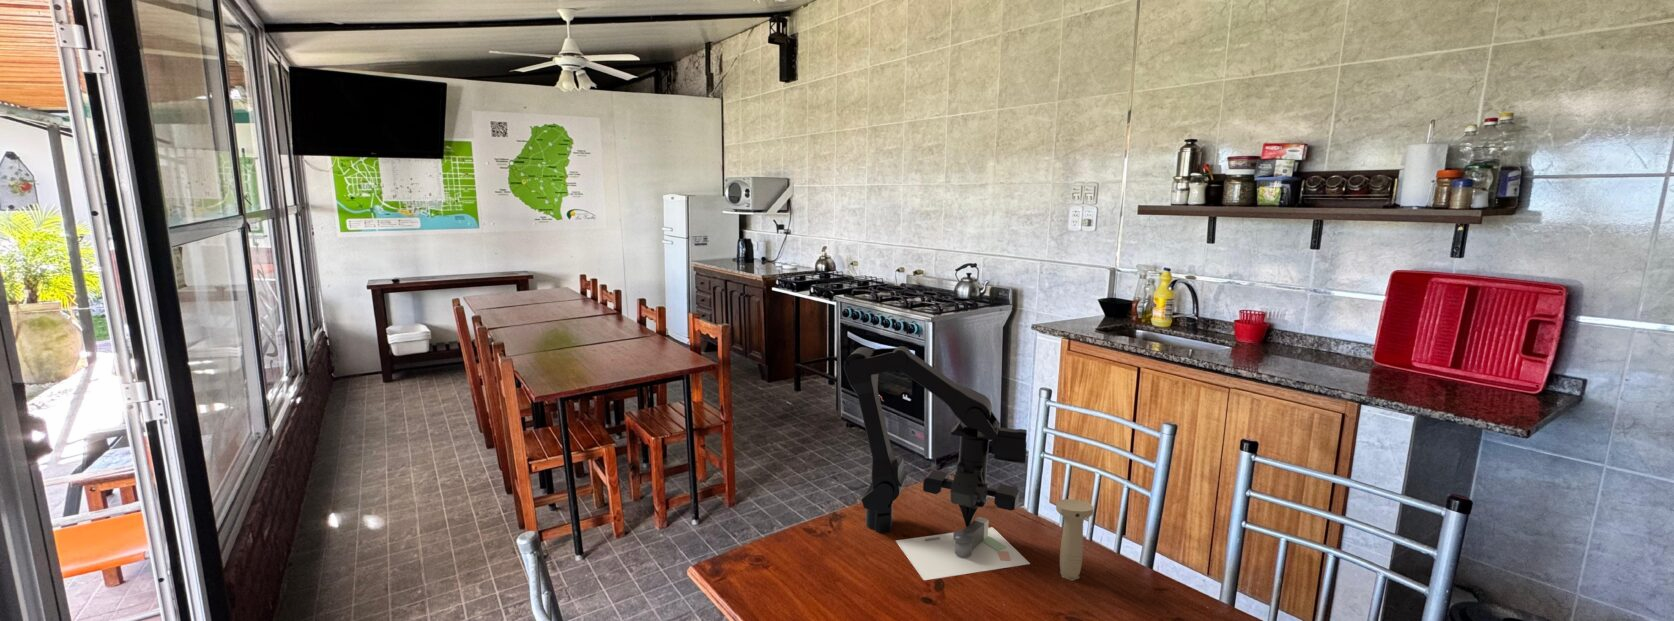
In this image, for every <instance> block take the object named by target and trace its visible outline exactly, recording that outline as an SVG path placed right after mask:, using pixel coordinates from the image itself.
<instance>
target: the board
mask: <svg viewBox="0 0 1674 621" xmlns="http://www.w3.org/2000/svg"><path fill="white" fill-rule="evenodd" d="M953 535H954V532H948V533H942V534H941V533H940V534H934V535H928V536H927V535H926V536H920V537H913V538H905V539H898V540H895V542H896V544H897V545H898V546H899V548H900V550H901V551H902V552H903V554H904V556H906V557H907V559H908V560H909V562H910V564H911V565H912V566H913V568H914V569H915V570H916V572H917V573H918V575H919V576H920V578H921V579H922V580H923V581H928V580H937V579H943V578H949V577H955V576H961V575H966V574H974V573H981V572H988V571H995V570H1000V569H1006V568H1007V569H1008V568H1014V567H1019V566H1026V565H1031V563H1030V562H1029V561H1028V560H1027V559H1026V558H1025V557H1024V555H1022V554H1021V553H1020V552H1019V551H1018V550H1017V549H1016V548H1015V547H1013V546H1012V544H1010V542H1009V541H1007V540H1006V538H1004V537H1003V536H1002V535H1001V534H1000V532H998V531H997V530H996V529H995V528H994V527H992V526H991V527H988V536H987V537H986V538H985V539H984V540H982V541H981V542H980V543H979V544H978V545H977V546H976V547H975V548H974V549H973V550H972V551H971V556H969V557H960V556H958V555H956V554H955V540H954V539H953Z"/></svg>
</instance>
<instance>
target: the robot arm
mask: <svg viewBox="0 0 1674 621" xmlns="http://www.w3.org/2000/svg"><path fill="white" fill-rule="evenodd" d="M843 370H844V373H845V376H846V379H847V381H848V383H849V385H850V387H851V388H852V389H853V391H854V392H855V394H856V396H857V398H858V403H859V408H860V411H861V415H862V419H863V424H864V428H865V432H866V437H867V441H868V445H869V450H870V455H871V458H872V463H871V464H872V465H871V466H872V467H871V482H870V484H869V485H868V488H866V491H865V493H864V495H863V497H862V498H861V503H862V506H863V508H864V509H865V526H866V527H867V528H868V529H869V530H872V531H874V532H875V533H878V534H886V533H890V532H891V530H892V527H893V510H894V507H893V506H894V501H895V500H897V498H898V497H899V496H900V494H901V491H902V489H903V487H904V484H905V483H906V482H905V481H906V478H907V476H908V473H907V471H906V469H905V464H904V463H905V462H904V457H899V458H897V457H896V456H895V453H894V452H893V449H892V445H891V441H890V437H889V433H888V428H887V424H886V420H885V416H884V412H883V406H882V402H881V398H880V394H879V389H878V385H879V375H880V374H882V373H885V372H890V371H894V370H899V371H900V372H902V374H904V375H906V376H907V377H908V378H910V379H911V380H913V381H914V382H915V383H916V384H918V385H920V386H921V387H923V388H924V389H925V390H927V391H928V392H930V393H931V394H933V395H934V396H935V397H936V398H938V399H939V400H940V401H942V402H944V404H946V406H947V407H948V408H949V409H950V411H951V412H952V413H953V414H954V416H955V417H956V418H957V419H958V420H959V421H958V423H957V424H955V425H954V426H952V429H951V432H950V435H951V436H956V437H960V438H959V450H958V462H957V468H956V472H955V474H954V476H953V479H950V474H949V472H944V471H941V470H940V471H939V470H936V469H932V470H931V471H930V472H929V473H928V474H927V476H926V477H925V478H924V479H923V486H922V490H923V492H924V493H925V492H926V493H930V494H933V495H938V494H940V493H941V492H942V489H945V490H946V489H947V490H949V494H950V502H951V503H952V504H954V505H958V507H959V509H960V511H961V513H962V518H963V520H964V524H965V528H966V527H967V526H968V525H970V524H971V523H972V522H973V519H974V517H975V515H976V512H977V510H978V509H979V508H984V507H986V504H987V503H988V500H989V499H993V500H994V505H995V506H996V507H997V508H998V509H1002V510H1007V511H1015V509H1016V507H1017V505H1018V503H1019V500H1020V490H1019V488H1018V487H1017V486H1013V485H1010V484H1009V485H1007V484H1004V483H1000V484H999V486H998V487H997V488H992V487H989V486H988V484H987V473H988V472H987V471H988V461H989V458H988V456H989V448H990V447H989V445H990V444H989V443H990V441H992V442H991V452H990V454H991V456H993V459H995V460H996V461H997V462H1003V463H1011V464H1016V465H1017V464H1018V465H1025V466H1026V460H1027V431H1028V430H1027V429H1025V428H1024V429H1022V428H1016V429H1015V428H1008V427H1007V428H1006V427H1000V426H1001V423H1000V421H999V420H998V418H997V417H996V416H995V414H994V412H993V410H992V409H993V407H992V406H993V405H992V403H991V400H990V399H989V398H988V397H987V396H986V395H984V394H983V393H980V392H978V391H976V390H974V389H972V388H969V387H966V386H962V385H959V384H958V383H957V382H955V381H953V380H951V379H950V378H949V377H948V376H946V375H945V374H943V373H942V372H940V371H939V370H937V369H936V368H934V367H933V366H931V365H930V364H929V363H927V362H926V361H925V360H923V359H922V358H920V357H919V356H917V355H916V354H915V353H913V352H912V351H911V350H910V349H909V348H908V347H906V346H901V345H900V346H896V347H887V348H886V347H883V348H876V349H875V348H874V349H871V348H869V347H866V346H861V347H858V348H857V349H855V350H853V352H851V353H850V354H849V355H848V356H847V357H846V359H845V360H844V363H843Z"/></svg>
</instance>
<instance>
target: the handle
mask: <svg viewBox="0 0 1674 621" xmlns="http://www.w3.org/2000/svg"><path fill="white" fill-rule="evenodd" d="M1055 506H1056V507H1055V508H1056V512H1057V513H1058V514H1060V516H1063V527H1062V535H1061V543H1060V550H1059V568H1060V572H1059V573H1060V575H1061V578H1063V579H1067V580H1069V581H1075V580H1079V579H1080V573H1081V570H1082V566H1083V557H1084V556H1083V554H1084V550H1083V549H1084V537H1083V535H1084V521H1085V519H1086V518H1090V517H1092V516H1093V514H1094V506H1093V505H1092V504H1091V503H1090V502H1088V501H1085V500H1081V499H1073V498H1071V499H1070V498H1069V499H1068V498H1067V499H1066V498H1065V499H1059V500H1057V501H1056V505H1055Z"/></svg>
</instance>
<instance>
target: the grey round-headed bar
mask: <svg viewBox="0 0 1674 621" xmlns="http://www.w3.org/2000/svg"><path fill="white" fill-rule="evenodd" d="M989 522H990V521H989V518H985V517H981V516H979V515H978V516H977V517H976V518H974V520H972V522H971V524H970V525H968V526H967V527H966V526H965V528H963V529H958V530H956V531H954V532H953V533H954V535H953V539H954V540H955V554H956V555H958V556H960V557H969V556H971V551H972V550H973V549H974V548H975V547H976V546H977V545H978V544H979V543H980V542H981V541H982V540H984V539H985V538H986V537H987V536H988V528H989V524H990V523H989Z"/></svg>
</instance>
